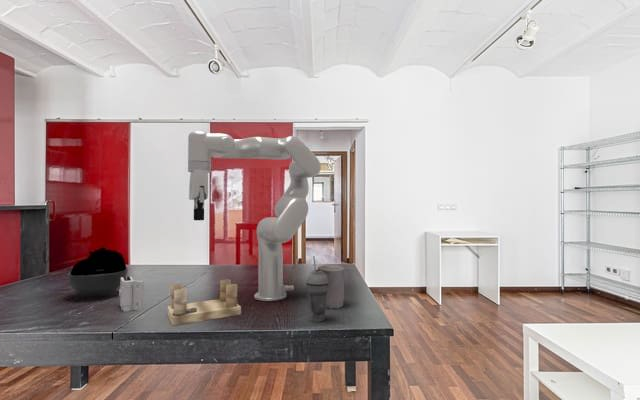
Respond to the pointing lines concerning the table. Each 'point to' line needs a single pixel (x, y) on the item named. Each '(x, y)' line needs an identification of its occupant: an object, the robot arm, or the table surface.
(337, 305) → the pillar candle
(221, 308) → the stool seat
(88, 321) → the table surface
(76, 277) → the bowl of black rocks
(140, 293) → the hinge
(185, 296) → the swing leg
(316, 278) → the beverage cup
